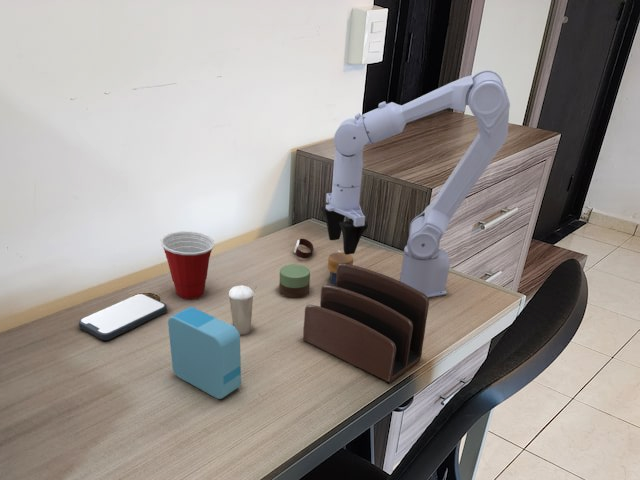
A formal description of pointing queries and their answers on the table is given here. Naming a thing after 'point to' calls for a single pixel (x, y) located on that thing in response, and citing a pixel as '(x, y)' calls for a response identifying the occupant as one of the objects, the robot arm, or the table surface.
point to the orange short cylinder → (338, 260)
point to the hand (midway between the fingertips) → (341, 246)
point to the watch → (305, 243)
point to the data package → (205, 352)
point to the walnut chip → (294, 291)
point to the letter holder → (369, 321)
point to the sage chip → (294, 276)
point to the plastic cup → (188, 261)
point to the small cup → (333, 278)
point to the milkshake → (241, 308)
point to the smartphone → (122, 316)
